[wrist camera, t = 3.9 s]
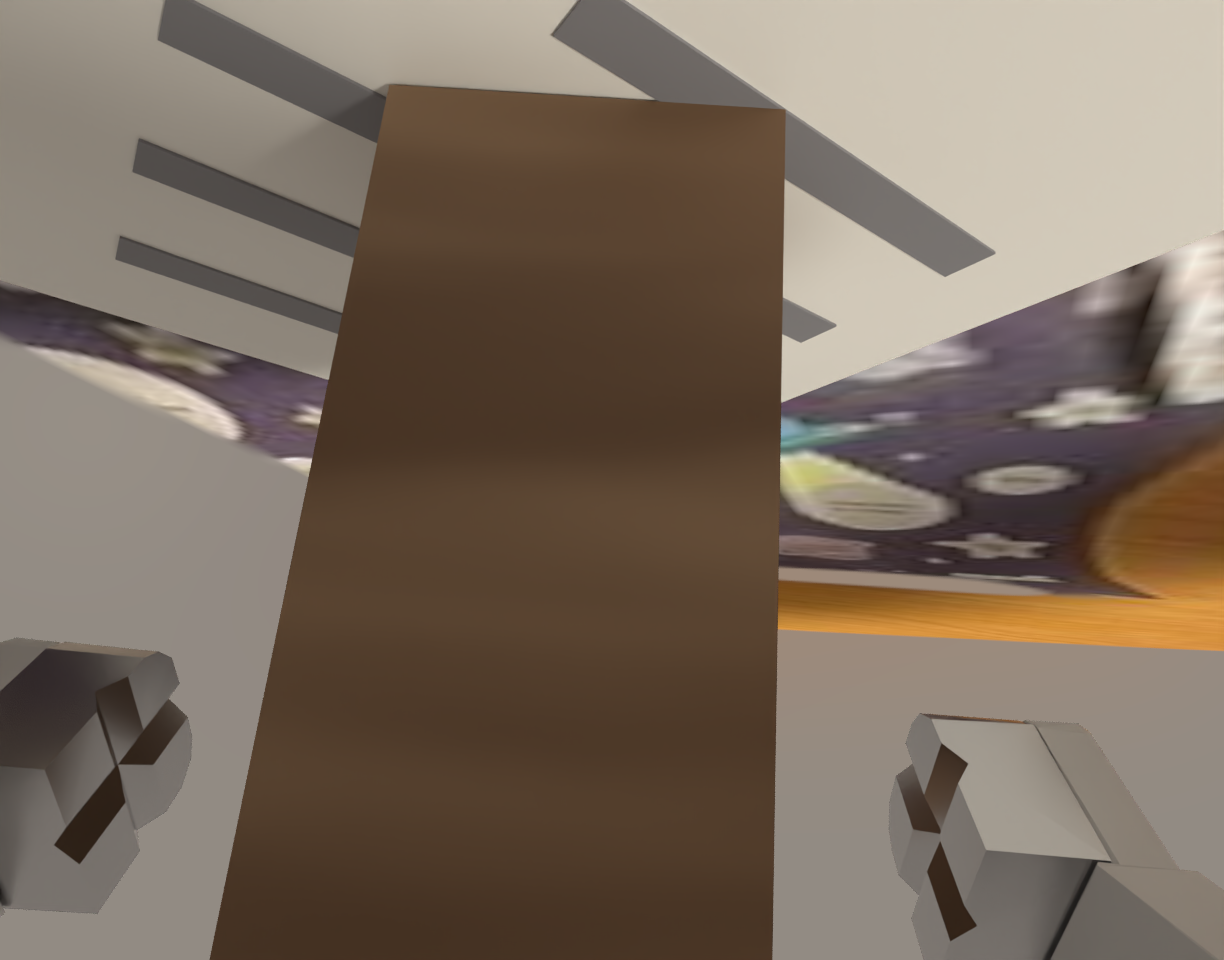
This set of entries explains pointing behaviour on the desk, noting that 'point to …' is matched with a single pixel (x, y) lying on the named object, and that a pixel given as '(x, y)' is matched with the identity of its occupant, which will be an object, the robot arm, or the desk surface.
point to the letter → (617, 69)
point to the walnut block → (535, 552)
